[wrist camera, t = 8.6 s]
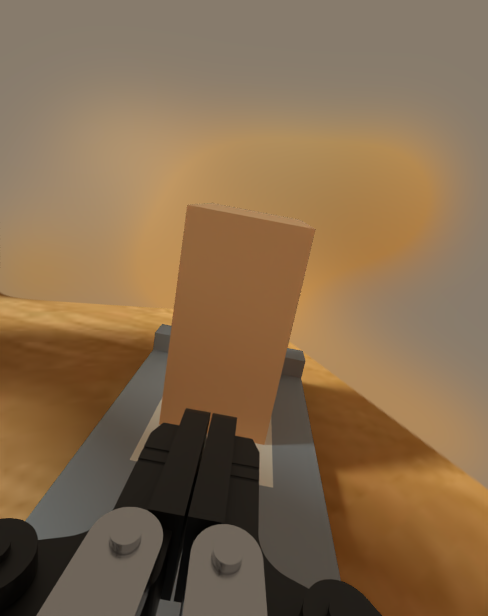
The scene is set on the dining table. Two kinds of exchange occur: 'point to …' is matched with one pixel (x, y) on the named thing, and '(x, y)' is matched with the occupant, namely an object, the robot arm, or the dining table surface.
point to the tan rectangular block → (233, 314)
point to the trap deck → (145, 418)
